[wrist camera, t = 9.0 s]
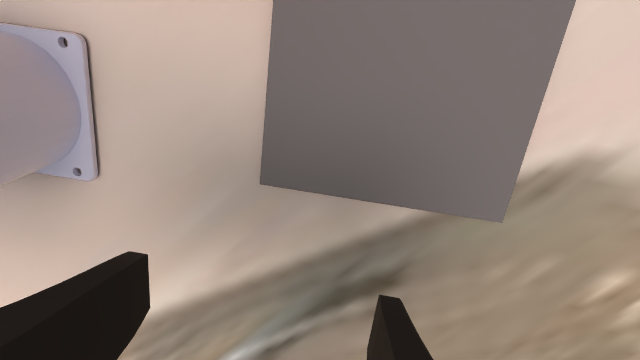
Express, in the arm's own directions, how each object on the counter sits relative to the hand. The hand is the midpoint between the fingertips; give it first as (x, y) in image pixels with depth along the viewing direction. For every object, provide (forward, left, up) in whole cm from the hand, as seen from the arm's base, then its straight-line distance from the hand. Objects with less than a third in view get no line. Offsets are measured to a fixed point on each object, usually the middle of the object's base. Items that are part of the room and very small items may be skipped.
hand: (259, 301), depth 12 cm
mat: (+4, +6, -10) cm, 13 cm away
